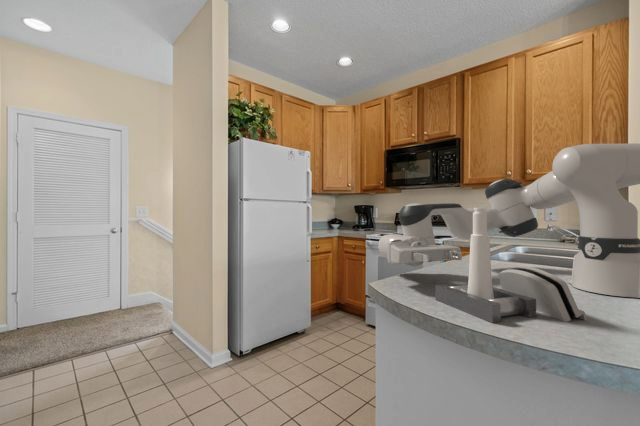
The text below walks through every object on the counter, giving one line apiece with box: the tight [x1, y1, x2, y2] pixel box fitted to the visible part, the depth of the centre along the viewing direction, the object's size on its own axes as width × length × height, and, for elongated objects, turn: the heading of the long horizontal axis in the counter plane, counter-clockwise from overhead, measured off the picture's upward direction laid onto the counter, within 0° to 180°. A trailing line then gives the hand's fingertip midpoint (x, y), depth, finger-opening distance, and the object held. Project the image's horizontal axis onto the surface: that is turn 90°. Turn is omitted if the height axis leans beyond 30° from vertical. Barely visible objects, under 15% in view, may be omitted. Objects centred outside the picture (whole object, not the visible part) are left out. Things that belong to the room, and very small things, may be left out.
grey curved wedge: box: [498, 265, 588, 323], centre depth 66 cm, size 17×5×10 cm, turn 6°
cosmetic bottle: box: [467, 208, 494, 300], centre depth 66 cm, size 6×6×22 cm
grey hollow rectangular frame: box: [434, 281, 537, 324], centre depth 66 cm, size 12×16×4 cm
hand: (445, 257), depth 77 cm, fingers open, 8 cm apart
